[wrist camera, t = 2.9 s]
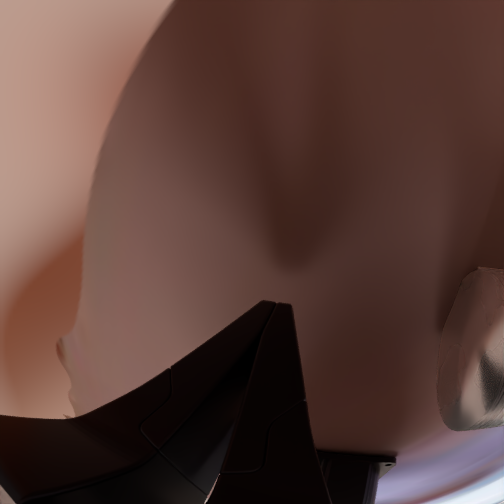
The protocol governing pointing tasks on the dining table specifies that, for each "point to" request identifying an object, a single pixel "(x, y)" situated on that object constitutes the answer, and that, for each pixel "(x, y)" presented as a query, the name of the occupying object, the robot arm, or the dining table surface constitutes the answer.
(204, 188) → the dining table surface
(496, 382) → the tube
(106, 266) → the dining table surface
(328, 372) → the dining table surface
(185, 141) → the dining table surface
